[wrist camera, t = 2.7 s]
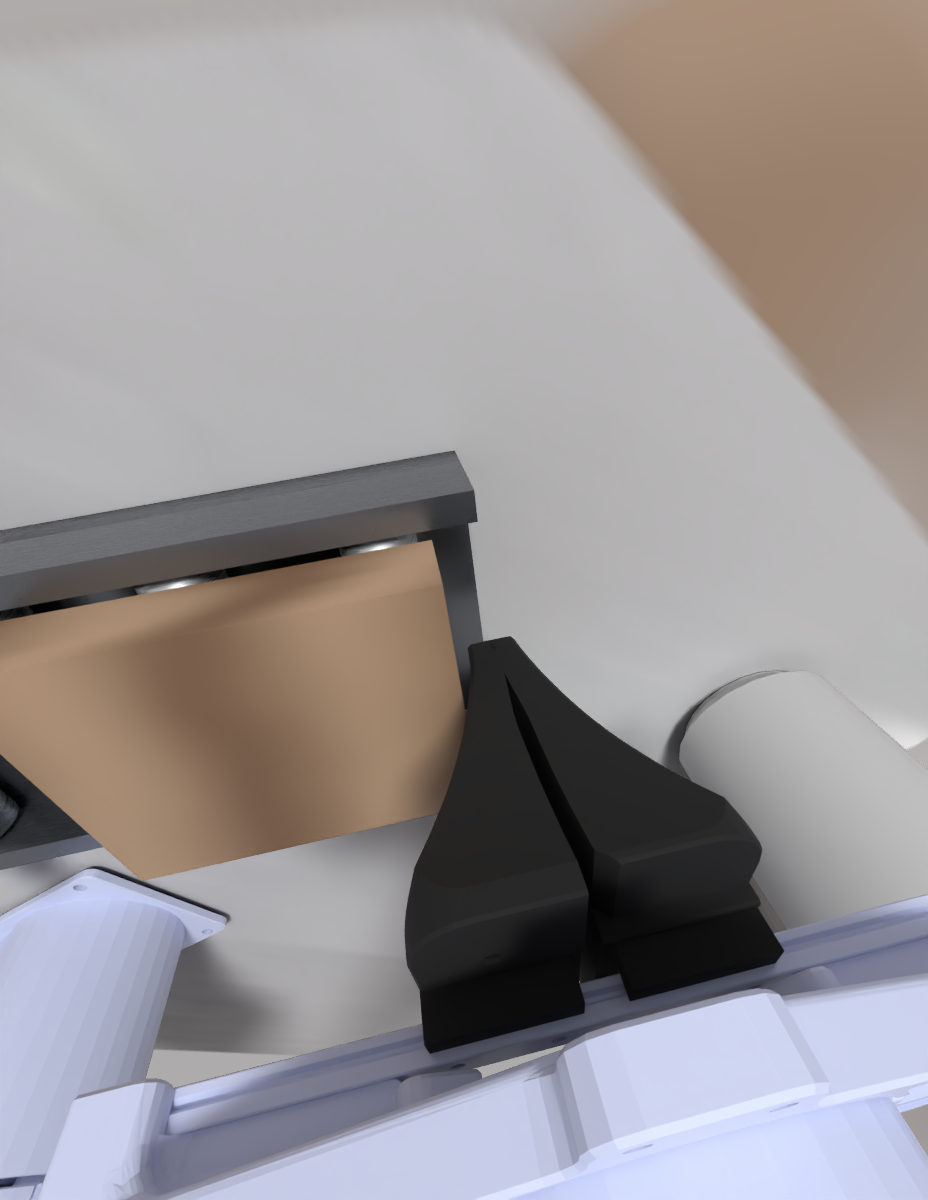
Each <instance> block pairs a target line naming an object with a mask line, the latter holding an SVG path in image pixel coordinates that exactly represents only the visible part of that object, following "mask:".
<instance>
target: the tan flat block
mask: <svg viewBox="0 0 928 1200" xmlns="http://www.w3.org/2000/svg"><path fill="white" fill-rule="evenodd" d="M465 720H466V713H465V707H464V702H463V696H462V690H461V685H460V679H459V673H458V668H457V662H456V657H455V651H454V645H453V640H452V634H451V628H450V623H449V617H448V611H447V606H446V600H445V595H444V589H443V584H442V579H441V575H440V571H439V567H438V563H437V559H436V555H435V551H434V547H433V542H432V540H428V541H423V542H418V543H412V544H407V545H402V546H396V547H391V548H386V549H380V550H375V551H370V552H364V553H359V554H354V555H349V556H343V557H338V558H333V559H327V560H322V561H317V562H311V563H306V564H301V565H295V566H290V567H285V568H280V569H274V570H269V571H264V572H258V573H253V574H248V575H242V576H237V577H232V578H226V579H221V580H216V581H211V582H205V583H200V584H195V585H189V586H184V587H179V588H173V589H168V590H163V591H157V592H152V593H147V594H141V595H136V596H131V597H126V598H120V599H115V600H110V601H104V602H99V603H94V604H88V605H83V606H78V607H72V608H67V609H62V610H57V611H51V612H46V613H41V614H35V615H30V616H25V617H19V618H14V619H9V620H3V621H0V754H1V755H2V756H3V757H4V758H5V759H6V760H7V761H8V762H9V763H11V764H12V765H13V766H14V767H15V768H16V769H17V770H18V771H20V772H21V773H22V774H23V775H24V776H25V777H26V778H27V779H28V780H30V781H31V782H32V783H33V784H34V785H35V786H36V787H37V788H39V789H40V790H41V791H42V792H43V793H44V794H45V795H46V796H47V797H49V798H50V799H51V800H52V801H53V802H54V803H55V804H56V805H57V806H59V807H60V808H61V809H62V810H63V811H64V812H65V813H66V814H68V815H69V816H70V817H71V818H72V819H73V820H74V821H75V822H76V823H78V824H79V825H80V826H81V827H82V828H83V829H84V830H85V831H87V832H88V833H89V834H90V835H91V836H92V837H93V838H94V839H95V840H97V841H98V842H99V843H100V844H101V845H102V846H103V847H104V848H106V849H107V850H108V851H109V852H110V853H111V854H112V855H113V856H114V857H116V858H117V859H118V860H119V861H120V862H121V863H122V864H123V865H124V866H126V867H127V868H128V869H129V870H130V871H131V872H132V873H133V874H135V875H136V876H137V877H138V878H139V879H140V880H141V881H144V880H149V879H153V878H157V877H162V876H166V875H171V874H175V873H179V872H184V871H188V870H193V869H197V868H201V867H206V866H210V865H214V864H219V863H223V862H228V861H232V860H236V859H241V858H245V857H250V856H254V855H258V854H263V853H267V852H272V851H276V850H280V849H285V848H289V847H293V846H298V845H302V844H307V843H311V842H315V841H320V840H324V839H329V838H333V837H337V836H342V835H346V834H351V833H355V832H359V831H364V830H368V829H372V828H377V827H381V826H386V825H390V824H394V823H399V822H403V821H408V820H412V819H416V818H421V817H425V816H430V815H434V814H438V813H439V811H440V808H441V806H442V803H443V801H444V798H445V795H446V793H447V790H448V787H449V784H450V781H451V777H452V774H453V771H454V767H455V764H456V761H457V757H458V753H459V749H460V745H461V741H462V736H463V731H464V726H465Z"/></svg>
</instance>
